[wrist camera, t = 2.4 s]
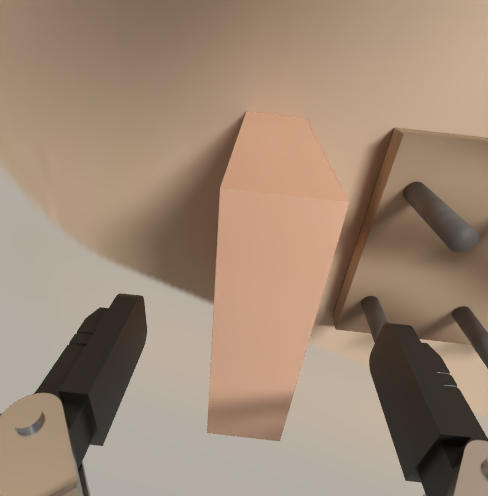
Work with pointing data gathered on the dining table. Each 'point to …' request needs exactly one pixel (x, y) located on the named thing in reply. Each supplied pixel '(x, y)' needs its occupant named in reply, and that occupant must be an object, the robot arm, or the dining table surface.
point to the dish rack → (424, 243)
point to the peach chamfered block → (269, 271)
